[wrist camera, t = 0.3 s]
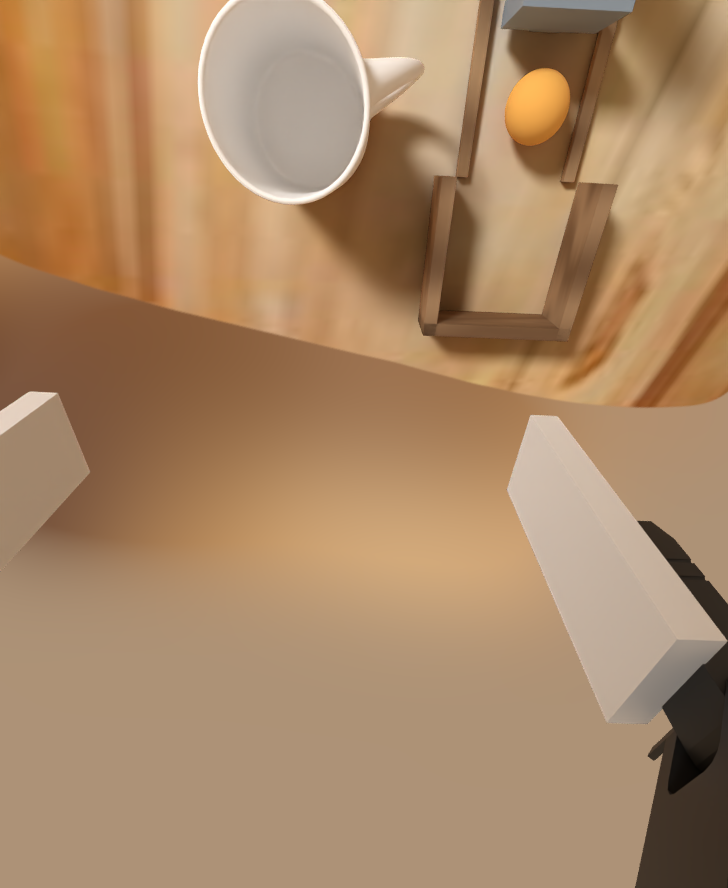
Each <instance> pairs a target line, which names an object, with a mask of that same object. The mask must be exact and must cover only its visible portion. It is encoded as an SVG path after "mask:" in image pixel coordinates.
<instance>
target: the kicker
mask: <svg viewBox="0 0 728 888" xmlns="http://www.w3.org/2000/svg"><path fill="white" fill-rule="evenodd" d="M634 4H635V0H506V1H505V6H504V13H503V19H502V25H501V29H514V30H529V31H532V32H551V33H561V32H570V33H589V34H596V33H597V32H599V31H601V30H602V29H604V28H606V27H607V26H609V25H611V24H613V23H614V22H616V21H618V20H619V19H621V18H623V17H624V16H626V15H628V14H629V13H631V12H632V11H633V7H634Z"/></svg>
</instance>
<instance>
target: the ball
mask: <svg viewBox="0 0 728 888" xmlns="http://www.w3.org/2000/svg"><path fill="white" fill-rule="evenodd" d="M569 105H570V90H569V86H568V83H567V81H566V79H565V78H564V76H563V75H562V74H561V73H560V72H558V71H556V70H554V69H551V68H540V69H536V70H534V71H531V72H530V73H528V74H527V75H525V76H524V77H523V78H522V79H521V80H520V81H519V82H518V83H517V84H516V85H515V87H514V88H513V90H512V92H511V94H510V96H509V98H508V101H507V104H506V108H505V123H506V128H507V130H508V132H509V134H510V136H511V137H512V138H513V139H514V140H515V141H516V142H518V143H520V144H522V145H527V146H533V145H537V144H540V143H543V142H545V141H546V140H548V139H549V138H551V137H552V136H553V135H554V134H555V133H556V132H557V131H558V130H559V128H560V127H561V125H562V124H563V122H564V120H565V118H566V116H567V113H568V110H569Z"/></svg>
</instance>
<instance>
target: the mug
mask: <svg viewBox="0 0 728 888" xmlns="http://www.w3.org/2000/svg"><path fill="white" fill-rule="evenodd" d="M423 73H424V65H423V63H422V62H421V61H419V60H417V59H414V58H407V57H389V58H372V59H366V58H362V56H361V53H360V50H359V48H358V45H357V43H356V41H355V40H354V38H353V36H352V34H351V32H350V30H349V29H348V27H347V26H346V24H345V23H344V21H343V20H342V19H341V18H340V17H339V15H338V14H337V13H336V12H335V11H334V10H333V9H332V8H331V7H330V6H329V5H328V4H327V3H326V2H324V1H323V0H230V1H229V2H228V3H227V4H226V5H225V6H224V7H223V8H222V9H221V11H220V12H219V13H218V15H217V16H216V18H215V19H214V21H213V22H212V24H211V26H210V29H209V31H208V33H207V35H206V38H205V41H204V44H203V47H202V51H201V56H200V62H199V71H198V95H199V102H200V109H201V113H202V118H203V122H204V125H205V128H206V131H207V134H208V136H209V139H210V141H211V143H212V145H213V148H214V149H215V151H216V153H217V154H218V156H219V158H220V160H221V161H222V162H223V164H224V165H225V167H226V168H227V169H228V171H229V172H230V173H231V174H232V175H233V176H234V177H235V178H236V179H237V180H238V181H239V182H240V183H241V184H242V185H243V186H245V187H246V188H247V189H249V190H250V191H252V192H253V193H255V194H256V195H258V196H260V197H262V198H264V199H267V200H269V201H272V202H276V203H280V204H287V205H299V204H306V203H310V202H314V201H317V200H319V199H321V198H323V197H325V196H327V195H328V194H330V193H332V192H333V191H335V190H336V189H338V188H339V187H341V186H342V185H343V184H344V183H345V182H347V181H348V180H349V178H350V177H351V176H352V175H353V174H354V172H355V171H356V169H357V168H358V166H359V164H360V162H361V160H362V158H363V156H364V153H365V150H366V146H367V142H368V136H369V127H370V120H371V118H372V117H374V116H375V115H376V114H377V113H379V112H380V111H381V110H383V109H384V108H385V107H386V106H388V105H389V104H390V103H392V102H393V101H394V100H395V99H397V98H398V97H399V96H400V95H402V94H403V93H404V92H405V91H406V90H407V89H408V88H409V87H411V86H412V85H413V84H414V83H415V82H416V81H417V80H418V79H419V78H420V76H421V75H422V74H423Z"/></svg>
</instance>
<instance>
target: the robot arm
mask: <svg viewBox="0 0 728 888" xmlns="http://www.w3.org/2000/svg"><path fill="white" fill-rule="evenodd" d="M89 473H90V471H89V468H88V466H87V463H86V461H85V458H84V456H83V454H82V451H81V449H80V446H79V444H78V441H77V439H76V436H75V434H74V431H73V429H72V427H71V424H70V422H69V419H68V417H67V414H66V412H65V410H64V407H63V405H62V402H61V400H60V397H59V395H58V393H46V392H28V393H27V394H25V395H24V396H22V397H21V398H19V399H18V400H17V401H15V402H14V403H12V404H10V405H9V406H8V407H6V408H5V409H3V410H1V411H0V571H1V570H2V569H3V568H4V567H5V566H6V565H7V564H8V563H9V561H10V560H11V559H12V558H13V557H14V556H15V555H16V554H17V553H18V551H19V550H20V549H21V548H22V547H23V546H24V545H25V544H26V543H27V542H28V540H29V539H30V538H31V537H32V536H33V535H34V534H35V533H36V532H37V530H38V529H39V528H40V527H41V526H42V525H43V524H44V523H45V522H46V521H47V519H48V518H49V517H50V516H51V515H52V514H53V513H54V512H55V511H56V509H57V508H58V507H59V506H60V505H61V504H62V503H63V502H64V500H65V499H66V498H67V497H68V496H69V495H70V494H71V493H72V492H73V491H74V489H75V488H76V487H77V486H78V485H79V484H80V483H81V482H82V481H83V480H84V478H85V477H86V476H87V475H88V474H89ZM507 491H508V494H509V496H510V498H511V501H512V503H513V505H514V507H515V510H516V512H517V515H518V517H519V519H520V522H521V524H522V526H523V528H524V531H525V533H526V535H527V538H528V540H529V543H530V545H531V547H532V550H533V552H534V554H535V556H536V558H537V561H538V563H539V566H540V568H541V571H542V573H543V575H544V577H545V580H546V582H547V585H548V587H549V589H550V592H551V594H552V596H553V599H554V601H555V603H556V606H557V608H558V610H559V612H560V615H561V617H562V619H563V622H564V624H565V627H566V629H567V631H568V633H569V636H570V638H571V640H572V643H573V645H574V648H575V650H576V652H577V654H578V657H579V659H580V661H581V664H582V666H583V668H584V671H585V673H586V675H587V678H588V680H589V682H590V685H591V687H592V689H593V692H594V694H595V696H596V699H597V701H598V703H599V706H600V708H601V710H602V713H603V715H604V717H605V720H606V722H607V723H629V724H648V723H649V722H650V721H651V720H652V719H653V718H654V717H655V716H656V715H657V714H658V712H660V711H661V710H662V709H663V710H664V712H665V714H666V715H667V717H668V719H669V721H670V723H671V724H672V727H673V728H672V729H671V730H670V731H669V732H668V733H667V734H666V735H665V736H664V737H663V738H662V739H661V740H660V741H659V742H658V743H657V744H656V745H654V746H653V747H652V749H651V751H650V753H649V754H648V757H650V758H651V759H652V760H656V759H657V758H658V757H659V756H660V755H661V754H662V753H663V756H662V761H661V766H660V771H659V775H658V780H657V785H656V790H655V795H654V800H653V804H652V809H651V814H650V819H649V824H648V828H647V834H646V838H645V843H644V848H643V853H642V857H641V863H640V867H639V872H638V877H637V882H636V886H635V888H728V604H727V603H726V602H725V600H724V599H723V598H722V597H721V595H720V594H719V593H718V592H717V590H716V589H715V588H714V587H713V586H712V584H711V583H710V582H709V581H706V580H705V576H704V575H703V573H702V572H701V571H700V570H699V569H698V567H697V566H696V565H695V564H694V563H691V559H690V558H689V556H688V555H687V554H686V553H685V551H684V550H683V549H682V548H681V547H680V545H679V544H678V543H677V542H676V540H675V539H674V538H672V537H671V536H670V535H668V534H667V533H666V532H664V531H663V530H662V529H660V528H659V527H658V526H656V525H655V524H654V523H652V522H651V521H636V519H635V518H634V517H633V515H632V514H631V513H630V511H629V510H628V509H627V507H626V506H625V505H624V504H623V502H622V501H621V499H620V498H619V497H618V496H617V494H616V493H615V492H614V490H613V489H612V488H611V486H610V485H609V484H608V482H607V481H606V480H605V478H604V477H603V476H602V475H601V473H600V472H599V470H597V468H596V466H595V465H594V464H593V462H592V461H591V460H590V458H589V457H588V456H587V455H586V453H585V452H584V451H583V449H582V448H581V447H580V446H579V444H578V443H577V441H576V440H575V439H574V437H573V436H572V435H571V433H570V432H569V431H568V429H567V428H566V427H565V425H564V424H563V423H562V422H561V420H560V419H559V418H558V416H541V415H530V419H529V422H528V425H527V428H526V431H525V434H524V437H523V441H522V444H521V447H520V450H519V453H518V456H517V459H516V463H515V466H514V469H513V472H512V476H511V479H510V482H509V485H508V488H507Z"/></svg>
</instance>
